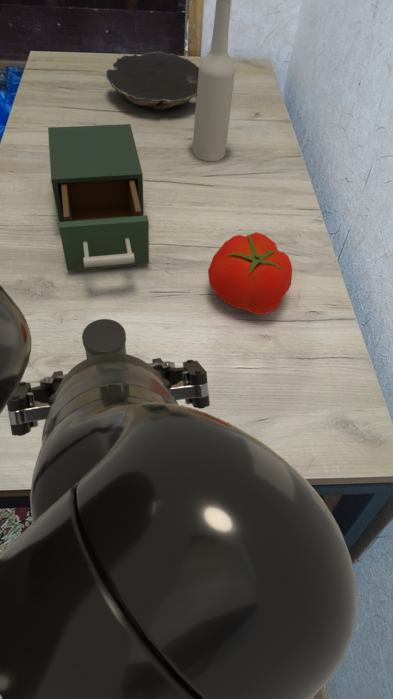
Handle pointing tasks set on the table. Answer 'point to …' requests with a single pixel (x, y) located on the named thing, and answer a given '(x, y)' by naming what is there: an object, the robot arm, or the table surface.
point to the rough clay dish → (155, 79)
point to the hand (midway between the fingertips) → (109, 376)
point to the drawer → (103, 225)
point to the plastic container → (104, 338)
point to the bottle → (214, 91)
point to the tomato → (250, 273)
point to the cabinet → (93, 157)
